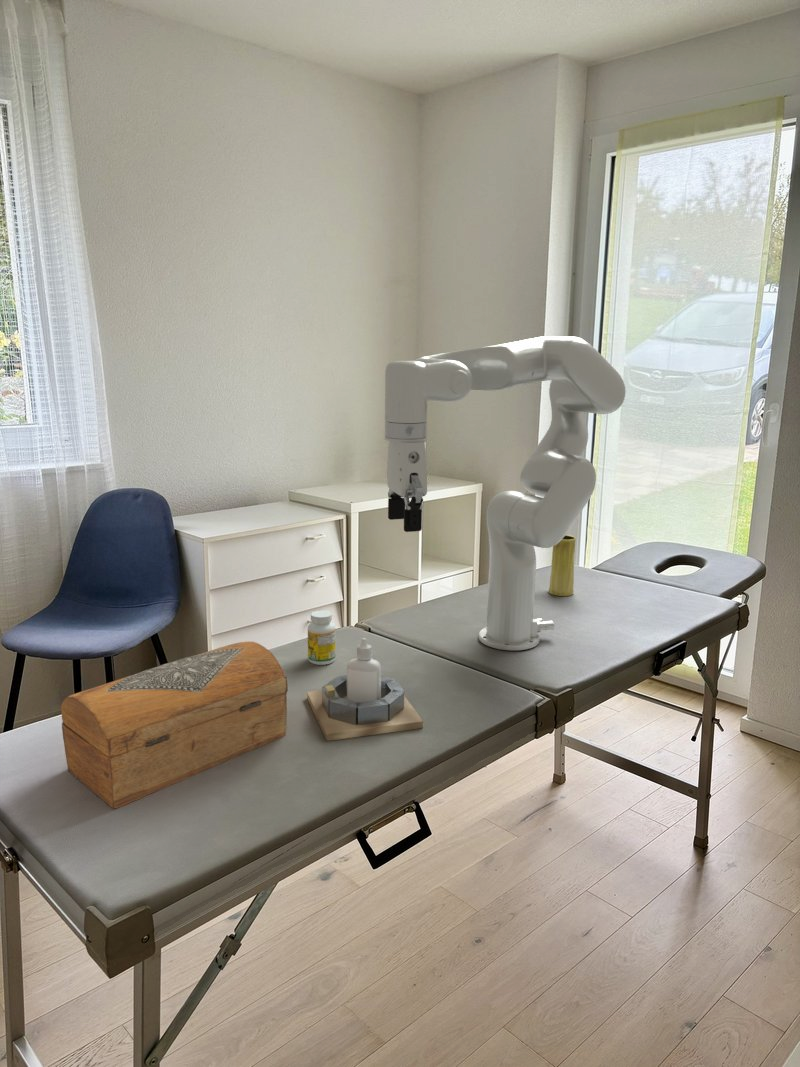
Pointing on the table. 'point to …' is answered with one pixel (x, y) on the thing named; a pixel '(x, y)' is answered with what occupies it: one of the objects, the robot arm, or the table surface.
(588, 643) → the table surface
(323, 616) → the supplement bottle
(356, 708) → the gray octagonal ring
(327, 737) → the square wooden board
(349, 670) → the eye dropper bottle
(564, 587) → the vase
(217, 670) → the wooden box
